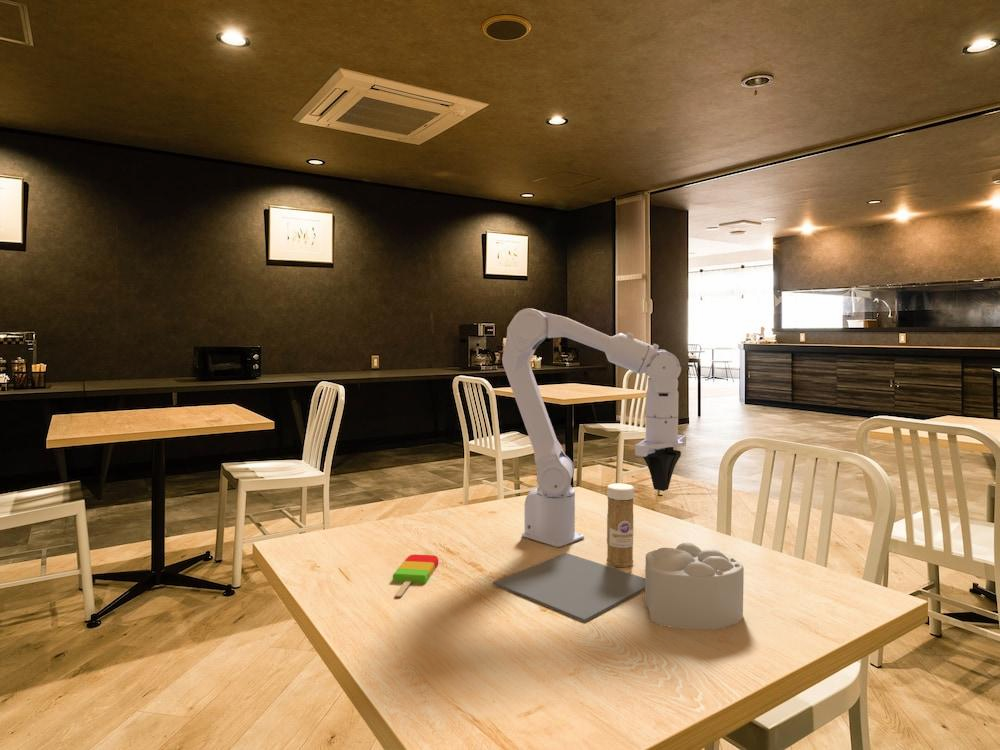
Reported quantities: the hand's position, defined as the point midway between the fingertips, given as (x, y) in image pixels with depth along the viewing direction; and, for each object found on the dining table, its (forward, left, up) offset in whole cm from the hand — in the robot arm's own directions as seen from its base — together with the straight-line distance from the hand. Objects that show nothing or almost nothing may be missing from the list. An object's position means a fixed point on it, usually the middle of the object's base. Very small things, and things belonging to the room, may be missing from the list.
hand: (660, 489), depth 113 cm
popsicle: (-20, -42, -11) cm, 48 cm away
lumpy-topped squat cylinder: (+18, -21, -11) cm, 30 cm away
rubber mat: (0, -26, -10) cm, 28 cm away
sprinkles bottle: (0, -13, -11) cm, 17 cm away
